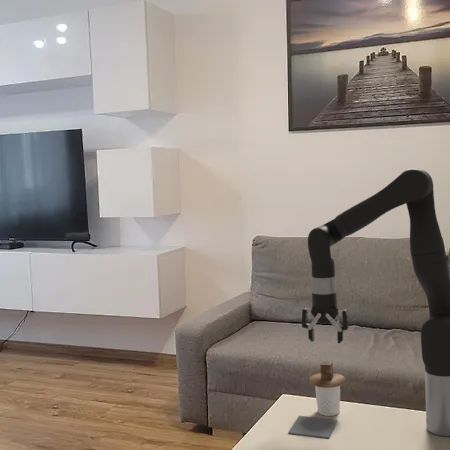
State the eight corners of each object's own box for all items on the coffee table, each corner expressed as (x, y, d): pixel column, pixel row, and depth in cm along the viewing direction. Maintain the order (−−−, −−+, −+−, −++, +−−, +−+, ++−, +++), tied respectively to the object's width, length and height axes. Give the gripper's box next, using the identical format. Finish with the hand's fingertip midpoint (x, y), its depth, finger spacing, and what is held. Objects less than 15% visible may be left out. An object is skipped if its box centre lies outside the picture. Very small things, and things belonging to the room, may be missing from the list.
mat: (337, 421, 177) (337, 419, 177) (329, 438, 166) (329, 437, 166) (299, 416, 181) (298, 415, 181) (288, 433, 170) (288, 432, 170)
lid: (348, 376, 186) (347, 358, 185) (341, 389, 176) (340, 370, 175) (314, 373, 190) (313, 356, 190) (305, 385, 180) (304, 367, 179)
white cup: (343, 416, 180) (342, 385, 179) (317, 417, 180) (316, 386, 179) (339, 406, 188) (337, 376, 187) (314, 407, 188) (313, 377, 187)
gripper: (349, 288, 181) (351, 339, 183) (304, 287, 186) (306, 337, 188) (344, 294, 174) (346, 347, 176) (298, 292, 180) (300, 344, 181)
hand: (325, 341), depth 182 cm, fingers open, 8 cm apart
